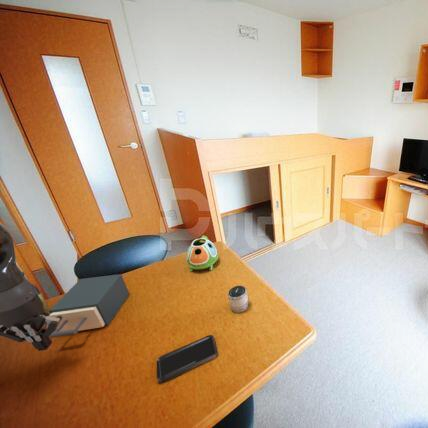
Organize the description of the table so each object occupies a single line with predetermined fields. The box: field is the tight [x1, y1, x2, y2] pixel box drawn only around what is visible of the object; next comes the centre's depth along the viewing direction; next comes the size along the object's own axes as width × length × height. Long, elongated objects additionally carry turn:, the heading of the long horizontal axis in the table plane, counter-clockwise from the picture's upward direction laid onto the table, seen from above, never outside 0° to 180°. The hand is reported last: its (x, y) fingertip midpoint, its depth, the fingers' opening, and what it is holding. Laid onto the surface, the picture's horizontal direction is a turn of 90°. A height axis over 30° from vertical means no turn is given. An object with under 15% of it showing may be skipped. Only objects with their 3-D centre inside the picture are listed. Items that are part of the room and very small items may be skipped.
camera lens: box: [227, 285, 249, 314], centre depth 85 cm, size 6×6×8 cm
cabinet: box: [49, 273, 130, 327], centre depth 81 cm, size 15×13×10 cm
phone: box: [156, 334, 219, 384], centre depth 68 cm, size 8×1×15 cm
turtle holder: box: [185, 235, 219, 272], centre depth 108 cm, size 12×18×12 cm
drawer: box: [49, 306, 105, 339], centre depth 77 cm, size 19×11×8 cm, turn 13°
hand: (45, 347), depth 64 cm, fingers closed
